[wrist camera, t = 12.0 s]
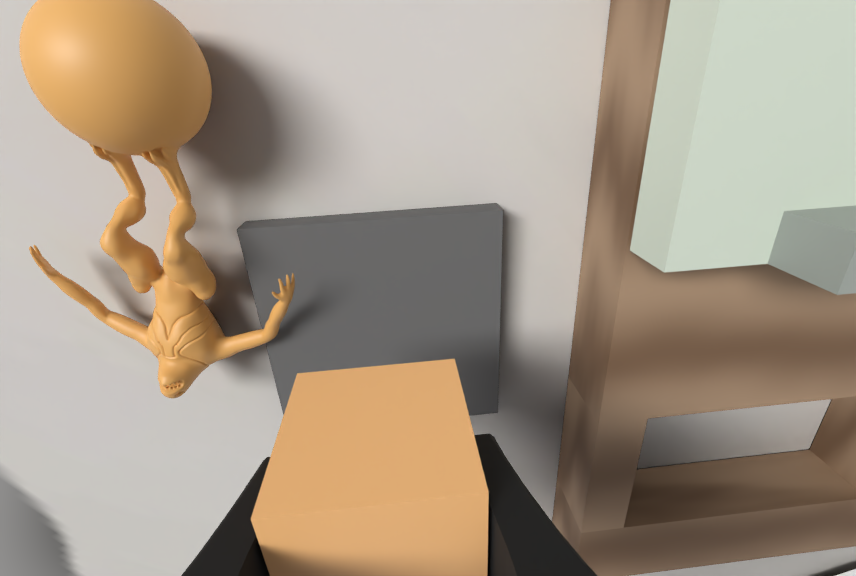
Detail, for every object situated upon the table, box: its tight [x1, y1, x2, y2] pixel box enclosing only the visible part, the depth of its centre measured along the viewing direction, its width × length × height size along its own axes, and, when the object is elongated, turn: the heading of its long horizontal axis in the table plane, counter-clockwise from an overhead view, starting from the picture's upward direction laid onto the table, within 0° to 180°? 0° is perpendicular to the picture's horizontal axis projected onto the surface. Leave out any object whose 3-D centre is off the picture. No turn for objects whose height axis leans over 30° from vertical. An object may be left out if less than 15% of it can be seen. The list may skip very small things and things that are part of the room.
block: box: [251, 359, 489, 576], centre depth 10 cm, size 4×4×4 cm
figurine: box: [20, 0, 295, 398], centre depth 13 cm, size 8×6×12 cm
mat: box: [237, 203, 503, 416], centre depth 17 cm, size 9×9×1 cm
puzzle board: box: [552, 0, 856, 576], centre depth 17 cm, size 28×16×3 cm, turn 3°
